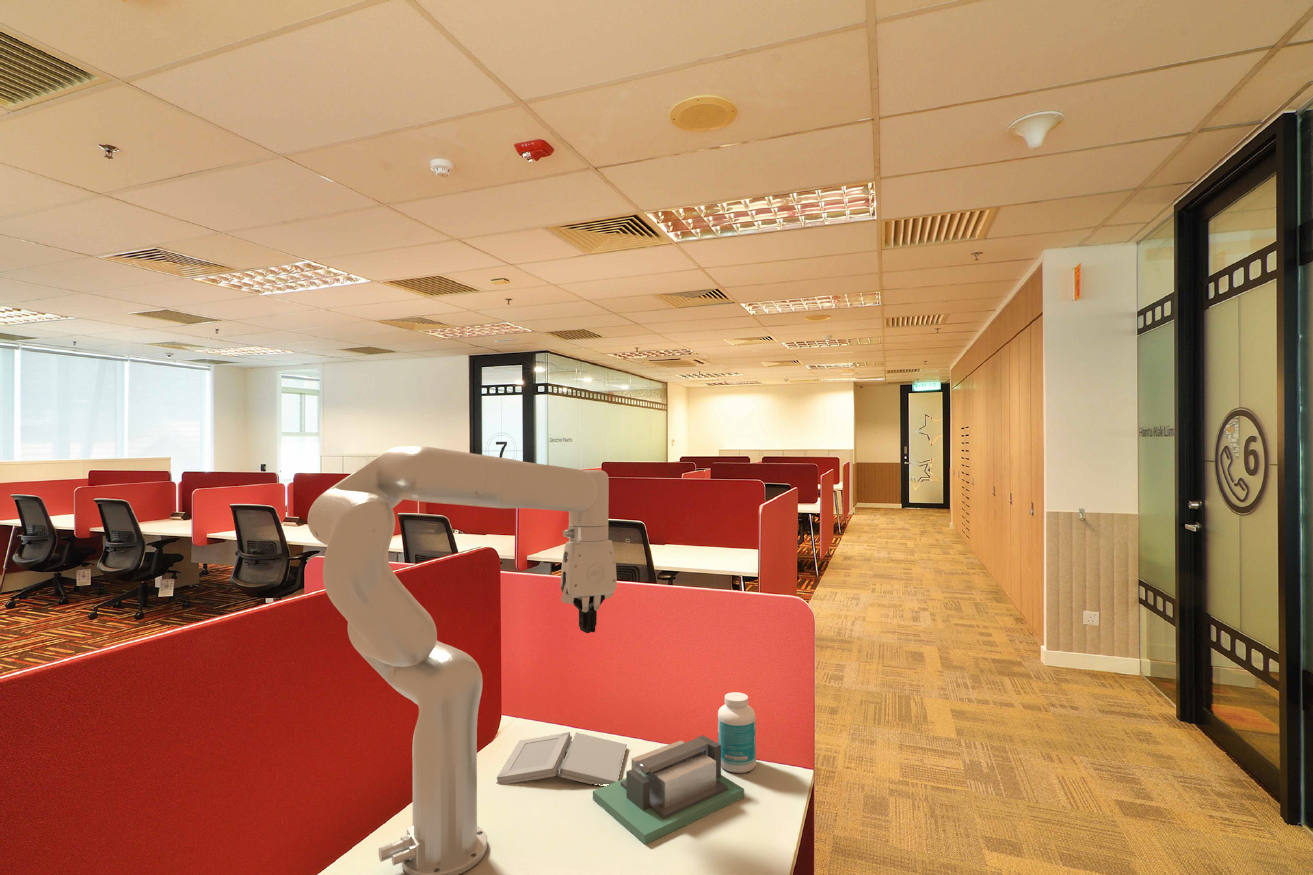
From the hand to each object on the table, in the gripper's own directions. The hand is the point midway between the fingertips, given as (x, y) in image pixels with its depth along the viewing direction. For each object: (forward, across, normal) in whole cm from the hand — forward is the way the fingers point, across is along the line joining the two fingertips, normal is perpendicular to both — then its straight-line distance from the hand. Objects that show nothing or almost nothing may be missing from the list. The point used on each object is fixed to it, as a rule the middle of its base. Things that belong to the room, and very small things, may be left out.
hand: (587, 630), depth 118 cm
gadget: (+29, 0, +8) cm, 30 cm away
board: (+28, +9, -14) cm, 33 cm away
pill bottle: (+28, +27, -12) cm, 41 cm away
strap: (+23, +10, -14) cm, 29 cm away
